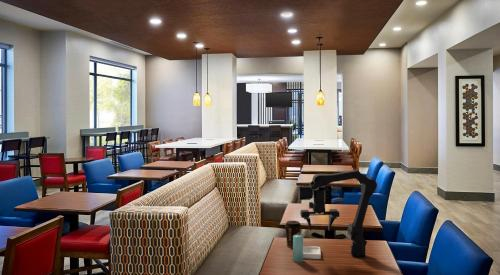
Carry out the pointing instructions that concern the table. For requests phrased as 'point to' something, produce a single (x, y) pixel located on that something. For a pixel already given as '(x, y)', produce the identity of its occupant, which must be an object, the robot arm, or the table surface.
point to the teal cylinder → (298, 248)
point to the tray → (311, 252)
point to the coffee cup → (292, 231)
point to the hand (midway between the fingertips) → (319, 230)
